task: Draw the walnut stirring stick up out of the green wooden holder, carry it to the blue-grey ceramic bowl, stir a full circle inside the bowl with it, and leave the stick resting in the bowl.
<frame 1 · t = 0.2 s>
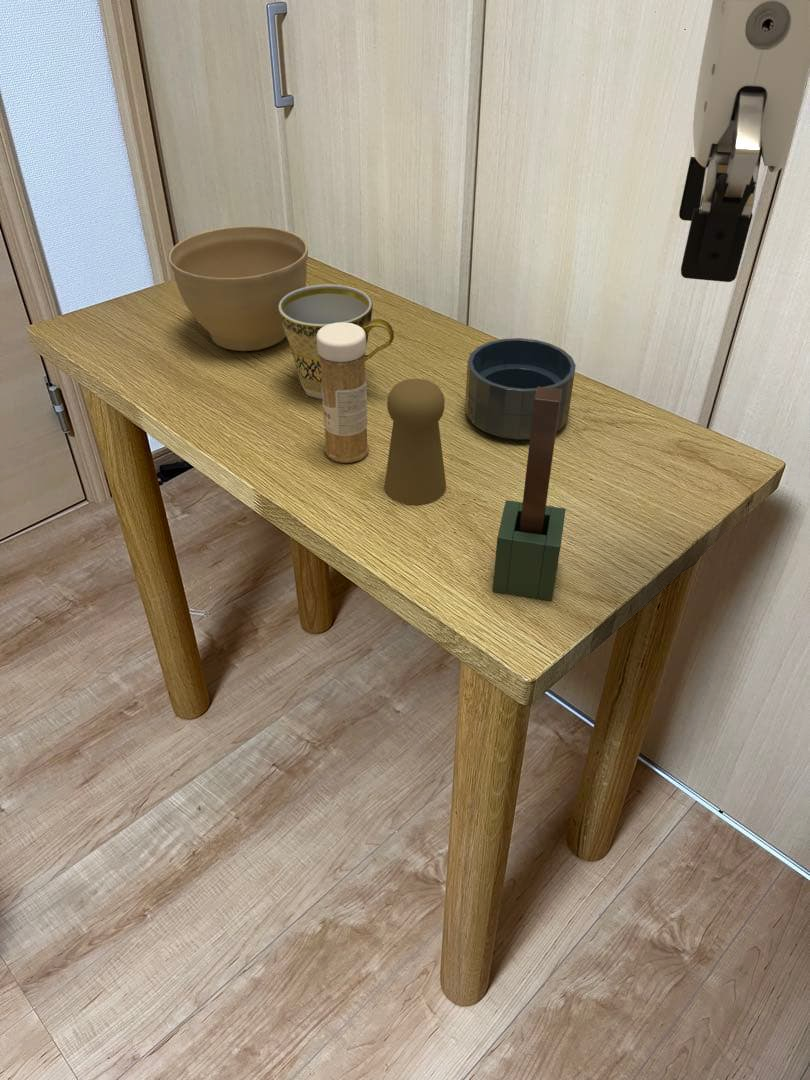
hand: (704, 247, 55), 28 cm above the table, tool pointing down, fingers open, 9 cm apart
stirring stick: (535, 493, 67), in the stick holder
sprinkles bottle: (347, 453, 87), on the table
planter bowl: (249, 336, 106), on the table
stick holder: (525, 576, 73), on the table
mixing bowl: (516, 416, 92), on the table
ceramic cup: (342, 390, 96), on the table
brown peg doll: (415, 487, 83), on the table
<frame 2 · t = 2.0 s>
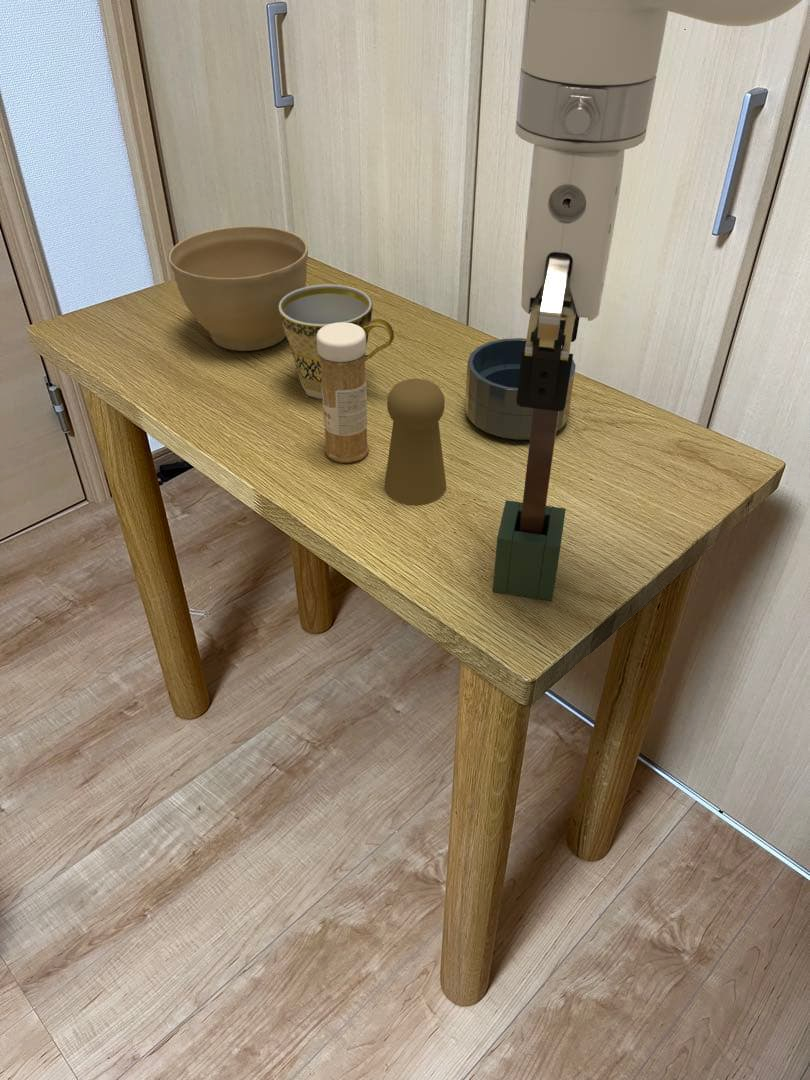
hand: (547, 370, 60), 20 cm above the table, tool pointing down, fingers open, 9 cm apart
nothing on the table moved.
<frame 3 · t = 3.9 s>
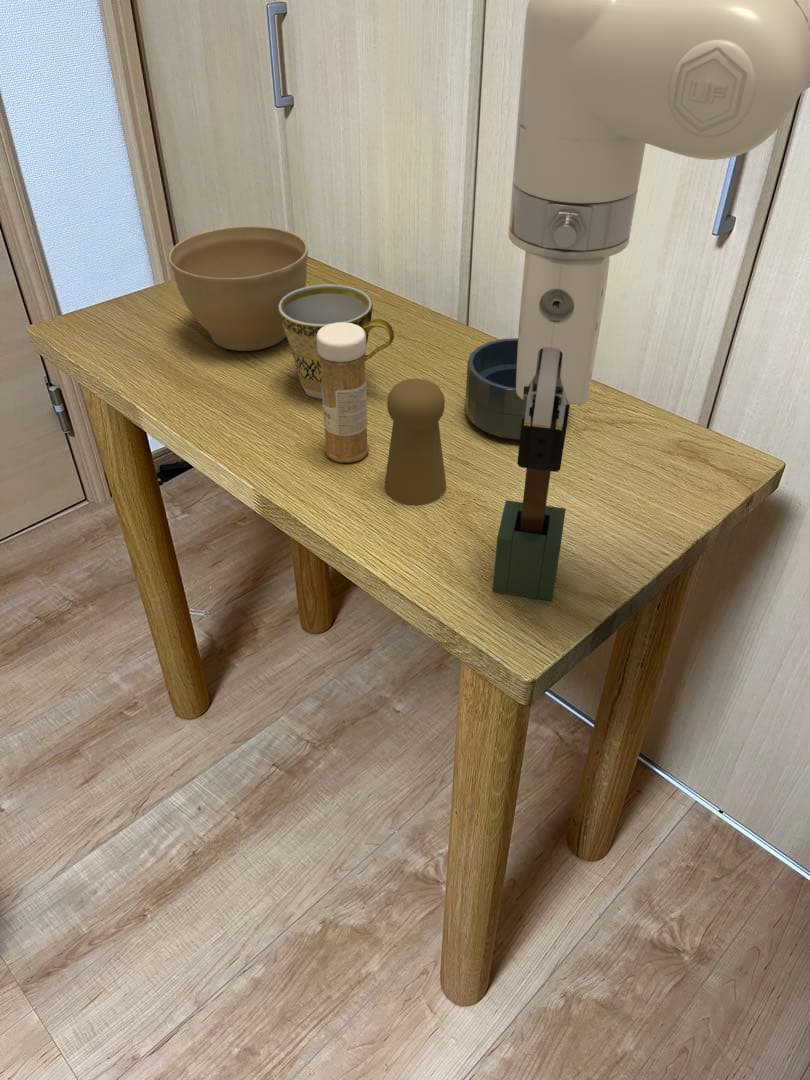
hand: (540, 456, 64), 13 cm above the table, tool pointing down, fingers closed on stirring stick, 1 cm apart
stirring stick: (536, 493, 67), in the stick holder, touching gripper
everything else where it was.
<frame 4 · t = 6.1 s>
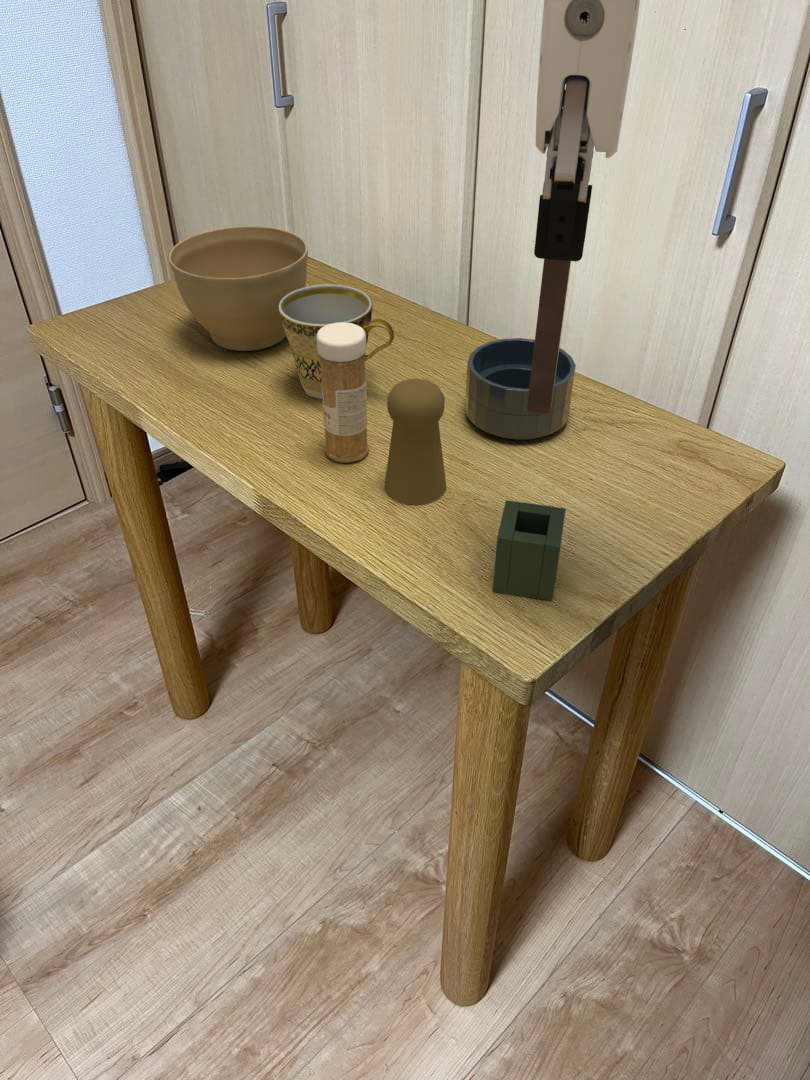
hand: (559, 248, 58), 27 cm above the table, tool pointing down, fingers closed on stirring stick, 1 cm apart
stirring stick: (553, 297, 60), point 24 cm above the table, touching gripper
everything else where it was.
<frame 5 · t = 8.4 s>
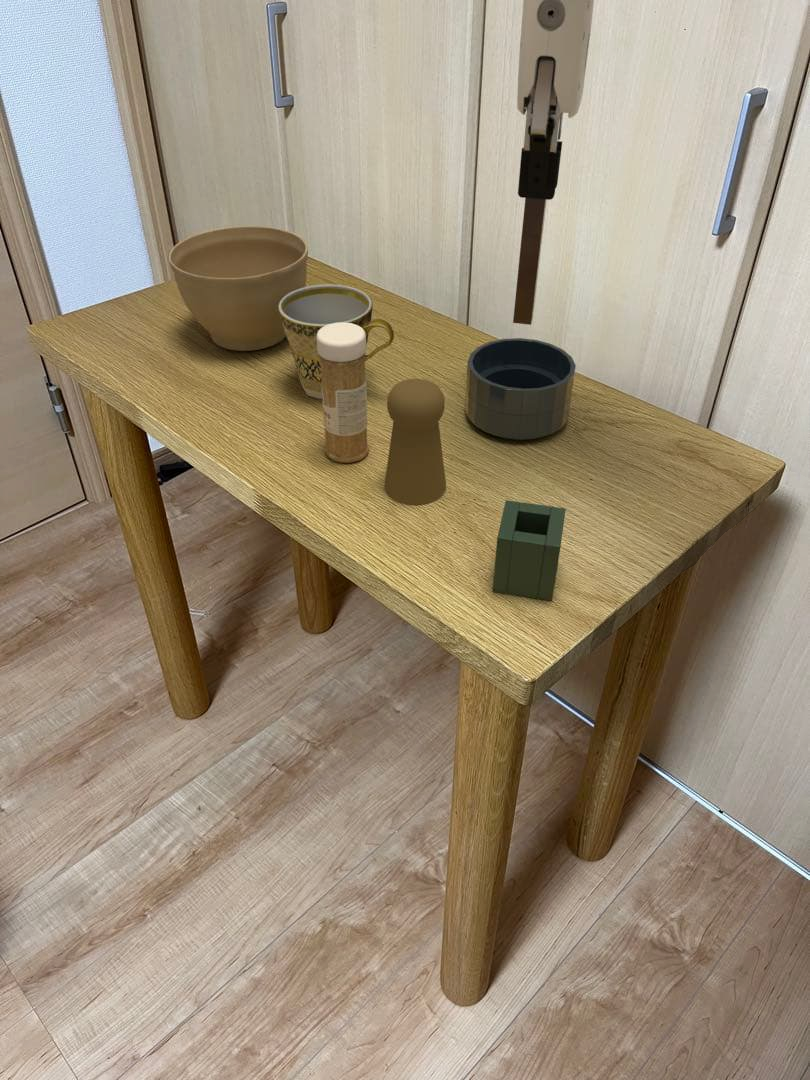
hand: (537, 191, 76), 24 cm above the table, tool pointing down, fingers closed on stirring stick, 1 cm apart
stirring stick: (532, 230, 78), point 20 cm above the table, touching gripper
everything else where it was.
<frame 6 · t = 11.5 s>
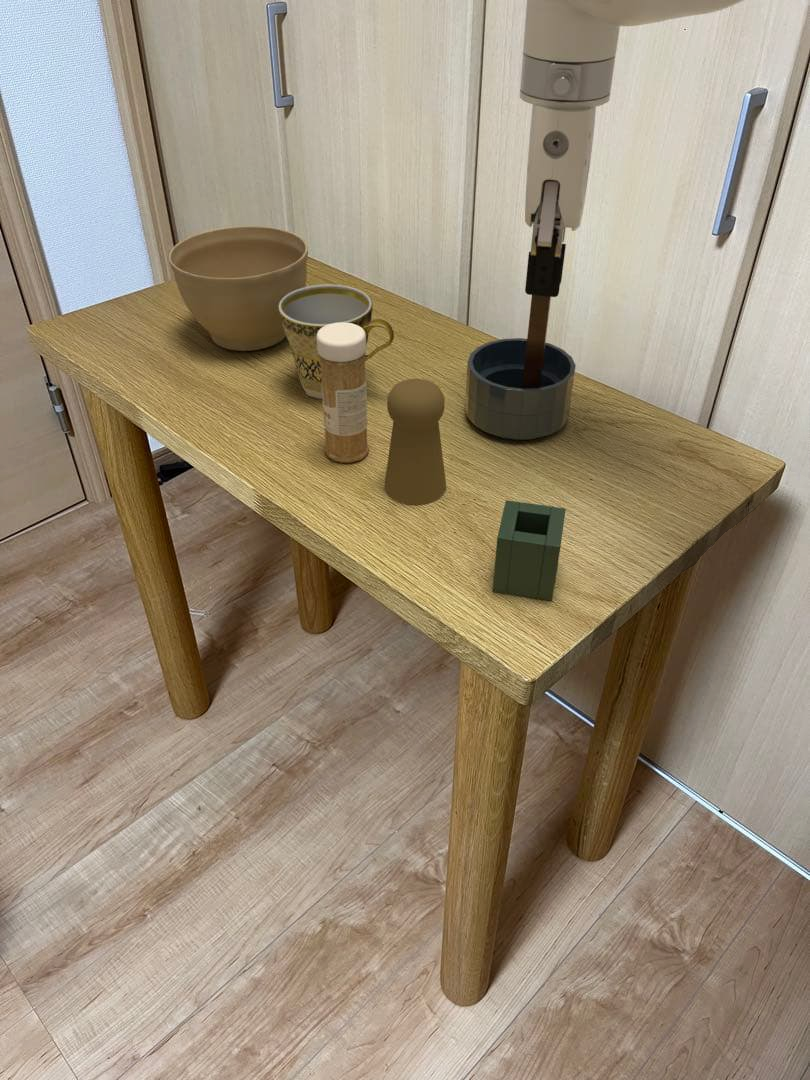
hand: (543, 287, 82), 15 cm above the table, tool pointing down, fingers closed on stirring stick, 1 cm apart
stirring stick: (538, 321, 85), point 11 cm above the table, touching gripper
everything else where it was.
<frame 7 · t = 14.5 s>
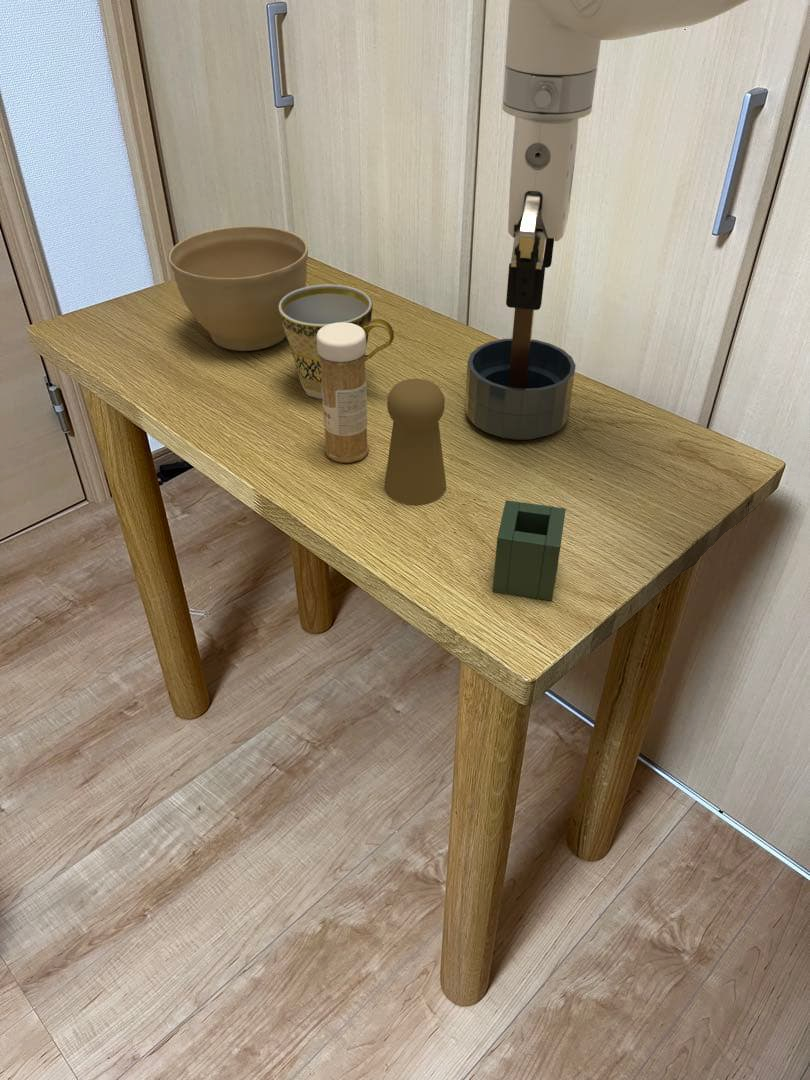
hand: (529, 285, 82), 15 cm above the table, tool pointing down, fingers open, 9 cm apart
stirring stick: (522, 333, 85), in the mixing bowl, point 10 cm above the table
everything else where it was.
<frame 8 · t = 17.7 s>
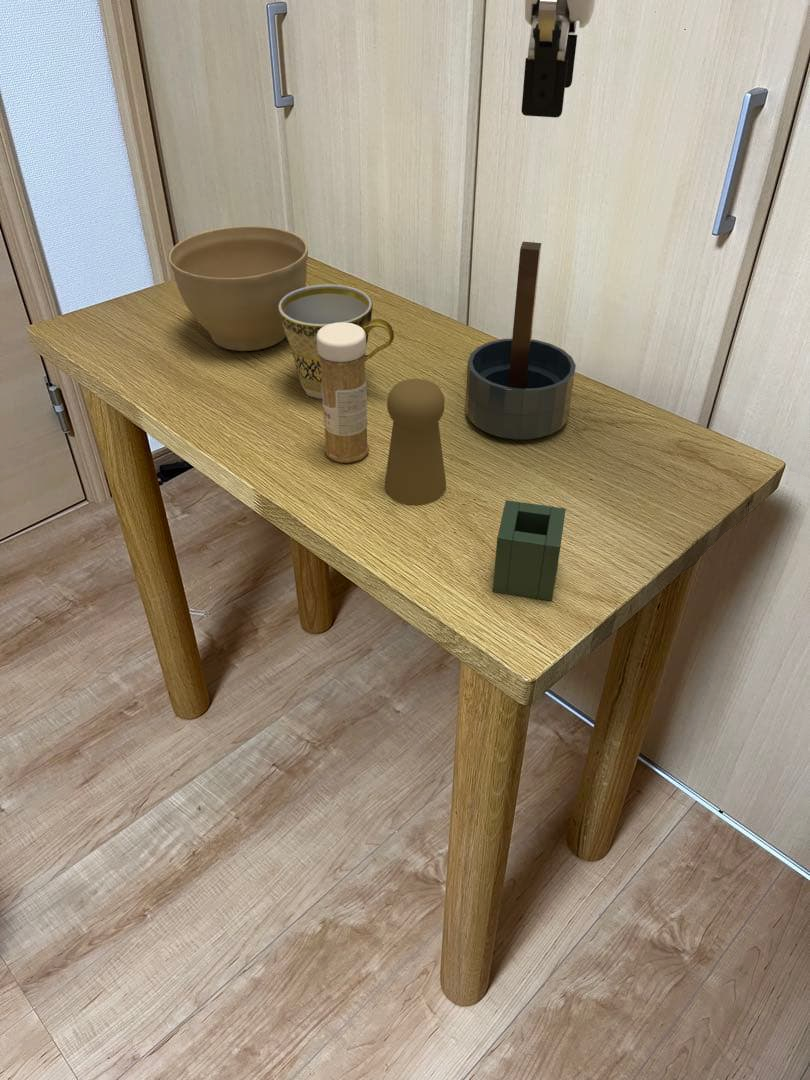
hand: (547, 100, 71), 31 cm above the table, tool pointing down, fingers open, 9 cm apart
nothing on the table moved.
at the end: stirring stick inside the target area in the mixing bowl (0.2 cm from its centre), point 9.8 cm above the mixing bowl's base; the gripper is holding nothing; stirring stick moved 25.4 cm from its start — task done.
